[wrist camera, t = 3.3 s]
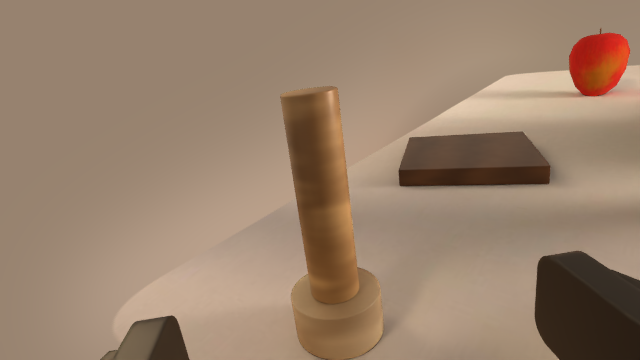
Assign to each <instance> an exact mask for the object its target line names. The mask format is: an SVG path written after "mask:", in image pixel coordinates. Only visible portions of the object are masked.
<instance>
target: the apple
mask: <svg viewBox="0 0 640 360" xmlns="http://www.w3.org/2000/svg"><path fill="white" fill-rule="evenodd" d="M629 54H630V48H629V45H628V41H627V40H626V39H625V38H624V37H623V36H621V35H620V34H615V33H605V34H601V29H600V34H598V35H590V36H587V37H584V38H582V39H581V40H579V41H578V42H577V43H576V44H575V45H574V46H573V49H572V51H571V54H570V56H569V65H570V67H569V68H570V74H571V77H572V79H573V82H574V85H575V87H576V88H577V89H578V90H579V91H580V92H581V93H582V94H583V95H587V96H598V95H602V94H605V93H606V92H608V91H609V90H611V89H612V88H613V87H615V86H616V85H617V83H618V81H619V80H620V78H621V76H622V75H623V73H624V71H625V69H626V66H627V62H628V58H629Z"/></svg>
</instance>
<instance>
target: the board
mask: <svg viewBox="0 0 640 360" xmlns="http://www.w3.org/2000/svg"><path fill="white" fill-rule="evenodd" d="M549 180H550V165H549V164H548V162H547V161H546V160H545V159H544V157H543V156H542V155H541V154H540V152H539V151H538V150H537V149H536V147H535V146H534V145H533V144H532V142H531V141H530V140H529V139H528V137H527V136H526V135H525V134H524V132H505V133H486V134H468V135H449V136H430V137H412V138H409V141H408V144H407V147H406V150H405V153H404V156H403V159H402V162H401V165H400V168H399V183H400V186H418V185H486V184H549Z"/></svg>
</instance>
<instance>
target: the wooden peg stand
mask: <svg viewBox="0 0 640 360" xmlns="http://www.w3.org/2000/svg"><path fill="white" fill-rule="evenodd" d="M280 98H281V104H282V111H283V117H284V124H285V130H286V136H287V143H288V149H289V155H290V161H291V167H292V174H293V181H294V187H295V193H296V200H297V206H298V212H299V219H300V225H301V231H302V238H303V244H304V250H305V257H306V263H307V269H308V274H307V275H305V276H304V277H302V278H301V279H300V280H299V281H298V282H297V283H296V284H295V286H294V288H293V290H292V293H291V301H292V306H293V312H294V317H295V323H296V329H297V334H298V339H299V341H300V343H301V345H302V346H303V347H304V348H305V349H306V350H307V351H308V352H309V353H311V354H313V355H315V356H317V357H320V358H323V359H328V360H344V359H350V358H354V357H357V356H360V355H362V354H364V353H366V352H367V351H369V350H370V349H372V348H373V347H374V346H375V345H376V344H377V343H378V341H379V340H380V338H381V336H382V334H383V329H384V324H383V312H382V301H381V290H380V284H379V282H378V280H377V278H376V277H375V276H374V275H373V274H372V273H370V272H368V271H367V270H365V269H362V268H359V267H357V260H356V251H355V242H354V233H353V224H352V215H351V205H350V196H349V187H348V178H347V169H346V160H345V151H344V143H343V133H342V124H341V114H340V106H339V96H338V89H337V87H333V86H327V87H314V88H307V89H300V90H294V91H290V92H286V93H283V94H281V96H280Z"/></svg>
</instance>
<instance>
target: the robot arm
mask: <svg viewBox="0 0 640 360" xmlns="http://www.w3.org/2000/svg"><path fill="white" fill-rule="evenodd" d="M535 321H536V325H537V329H538V331H539V333H540V336H541V337H542V339H543V341H544V342H545V344H546V345H547V346H548V347H549V348H550V349H551V350H552V352H553V353H554V354H555V355H556V356H557V357H558V358H559V359H560V360H640V281H639V280H637V279H634V278H632V277H629V276H627V275H624V274H621V273H619V272H616V271H614V270H610V269H608V268H607V267H605V266H604V265H602V264H601V263H599V262H598V261H596V260H595V259H593V258H592V257H590V256H589V255H587V254H586V253H584V252H581V251H573V252H567V253H561V254H555V255H549V256H543V257H542V258H541V259H540V260H539V262H538V267H537V284H536V301H535ZM100 360H189V357H188V353H187V350H186V347H185V343H184V340H183V337H182V333H181V330H180V327H179V324H178V321H177V319H176V318H175V317H174V316H166V317H160V318H154V319H148V320H142V321H136V322H135V323H134V324H133V325H132V326H131V328H130V329H129V331H128V333H127V335H126V336H125V338H124V340H123V342H122V343H121V345H120V347H119V349H118V350H114V351H109V352H108V353H107V354H106V355H105V356H104V357H102V359H100Z"/></svg>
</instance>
